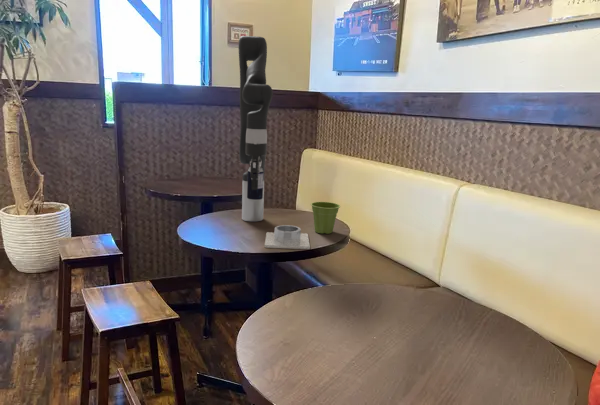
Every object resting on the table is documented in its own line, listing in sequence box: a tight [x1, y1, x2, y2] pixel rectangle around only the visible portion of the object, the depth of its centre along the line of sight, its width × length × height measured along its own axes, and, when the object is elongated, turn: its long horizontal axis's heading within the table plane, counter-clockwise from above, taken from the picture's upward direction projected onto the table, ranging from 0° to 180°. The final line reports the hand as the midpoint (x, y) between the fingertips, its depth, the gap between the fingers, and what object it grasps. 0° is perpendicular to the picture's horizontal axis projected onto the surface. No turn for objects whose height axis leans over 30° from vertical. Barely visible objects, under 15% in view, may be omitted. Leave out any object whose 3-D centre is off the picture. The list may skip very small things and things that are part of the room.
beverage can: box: [247, 166, 263, 201], centre depth 165 cm, size 6×6×12 cm
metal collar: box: [264, 224, 311, 250], centre depth 168 cm, size 16×16×5 cm
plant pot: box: [310, 201, 341, 235], centre depth 183 cm, size 12×12×11 cm
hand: (255, 187), depth 165 cm, fingers closed on beverage can, 5 cm apart
